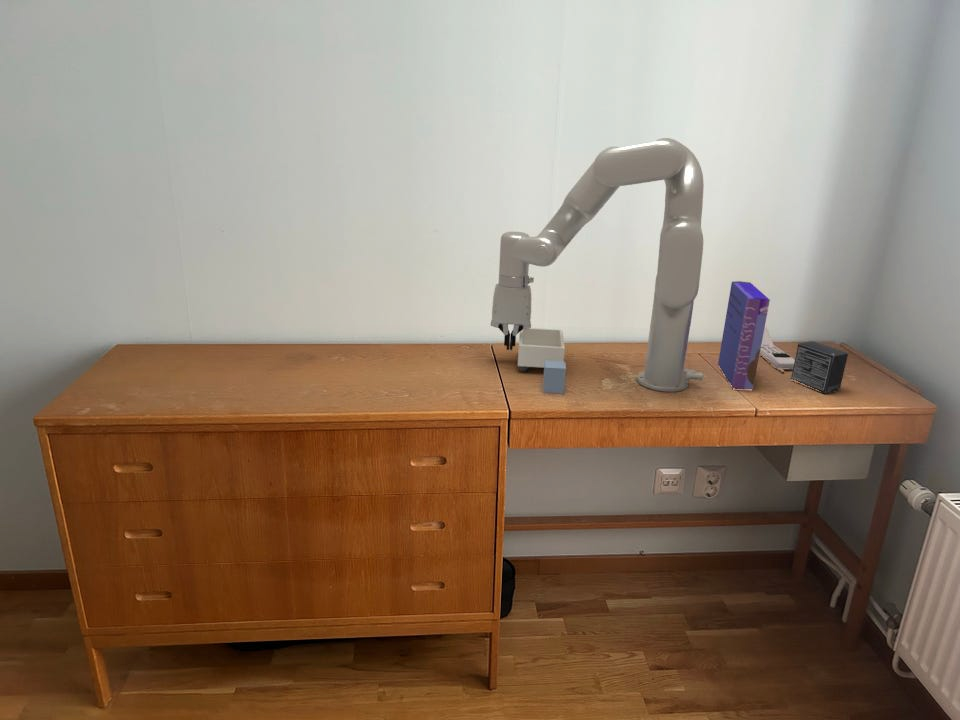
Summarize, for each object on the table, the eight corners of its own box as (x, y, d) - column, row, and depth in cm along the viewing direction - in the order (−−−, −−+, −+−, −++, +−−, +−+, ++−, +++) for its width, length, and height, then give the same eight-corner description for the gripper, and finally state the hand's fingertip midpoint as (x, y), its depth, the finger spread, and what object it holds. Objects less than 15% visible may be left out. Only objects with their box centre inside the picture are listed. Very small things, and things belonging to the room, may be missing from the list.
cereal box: (752, 391, 175) (770, 298, 166) (733, 390, 175) (749, 297, 167) (735, 367, 191) (750, 281, 183) (717, 365, 191) (731, 280, 183)
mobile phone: (766, 326, 209) (804, 354, 186) (763, 345, 211) (800, 374, 188) (746, 326, 209) (782, 353, 185) (743, 344, 211) (778, 374, 187)
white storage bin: (560, 355, 193) (562, 329, 190) (562, 375, 178) (564, 348, 175) (518, 352, 193) (520, 327, 191) (517, 372, 179) (518, 345, 176)
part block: (563, 388, 172) (565, 361, 170) (563, 395, 167) (566, 368, 165) (542, 386, 172) (544, 360, 170) (543, 394, 168) (545, 367, 165)
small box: (841, 391, 177) (850, 352, 174) (825, 395, 174) (834, 356, 170) (805, 377, 186) (813, 339, 182) (789, 380, 183) (797, 343, 179)
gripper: (542, 279, 182) (537, 345, 188) (485, 276, 182) (482, 342, 189) (542, 286, 174) (537, 354, 181) (483, 282, 175) (480, 351, 182)
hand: (509, 348), depth 185 cm, fingers closed
